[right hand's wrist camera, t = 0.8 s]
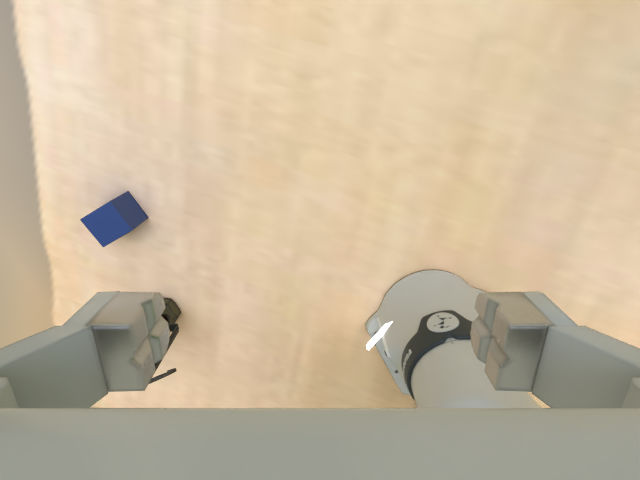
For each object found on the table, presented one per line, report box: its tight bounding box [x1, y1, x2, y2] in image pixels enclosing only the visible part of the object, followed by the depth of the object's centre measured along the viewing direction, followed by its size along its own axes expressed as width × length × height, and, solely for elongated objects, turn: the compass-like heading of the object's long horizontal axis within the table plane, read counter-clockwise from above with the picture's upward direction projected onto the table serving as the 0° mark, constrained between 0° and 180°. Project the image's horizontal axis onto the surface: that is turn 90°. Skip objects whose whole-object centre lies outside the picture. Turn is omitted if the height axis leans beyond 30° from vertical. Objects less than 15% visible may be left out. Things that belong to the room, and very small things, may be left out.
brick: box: [80, 191, 148, 247], centre depth 51 cm, size 5×4×5 cm
